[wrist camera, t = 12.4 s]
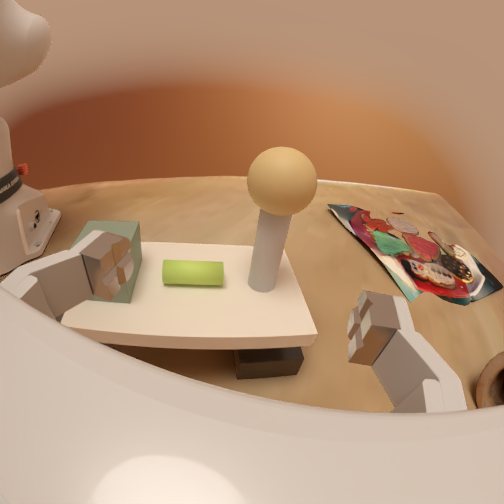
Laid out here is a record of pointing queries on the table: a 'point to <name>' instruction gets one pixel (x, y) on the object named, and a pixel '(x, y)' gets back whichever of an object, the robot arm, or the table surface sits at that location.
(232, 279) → the plate
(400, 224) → the colourful flat sheet
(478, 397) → the clay pipe
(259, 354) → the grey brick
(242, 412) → the robot arm
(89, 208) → the table surface
